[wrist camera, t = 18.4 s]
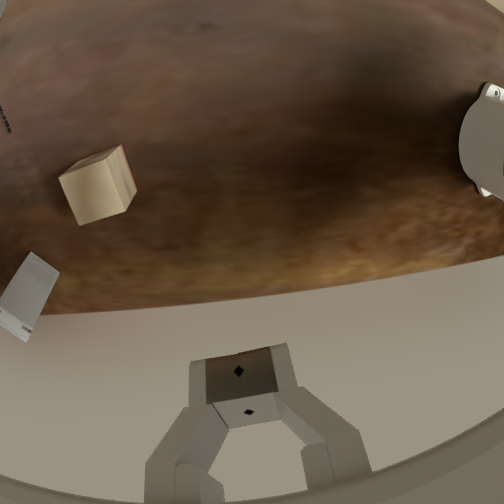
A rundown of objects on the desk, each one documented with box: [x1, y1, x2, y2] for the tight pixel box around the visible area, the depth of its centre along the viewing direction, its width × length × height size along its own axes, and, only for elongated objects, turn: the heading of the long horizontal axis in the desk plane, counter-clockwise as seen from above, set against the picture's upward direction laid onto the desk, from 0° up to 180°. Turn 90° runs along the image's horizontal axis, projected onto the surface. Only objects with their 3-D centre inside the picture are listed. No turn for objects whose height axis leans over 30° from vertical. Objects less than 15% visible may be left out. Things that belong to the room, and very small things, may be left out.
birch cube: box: [59, 145, 137, 226], centre depth 31 cm, size 6×6×6 cm
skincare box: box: [0, 252, 60, 342], centre depth 35 cm, size 6×4×12 cm
